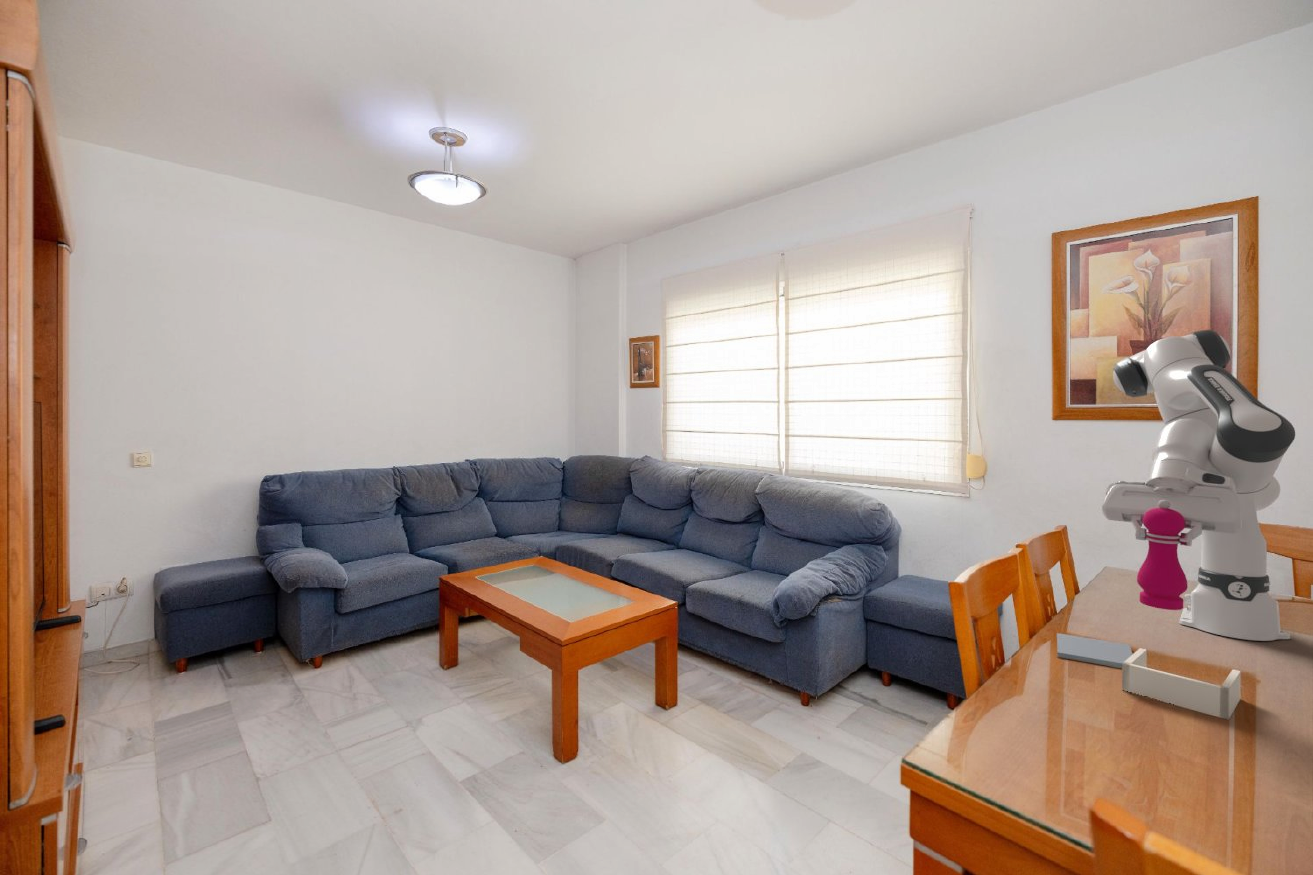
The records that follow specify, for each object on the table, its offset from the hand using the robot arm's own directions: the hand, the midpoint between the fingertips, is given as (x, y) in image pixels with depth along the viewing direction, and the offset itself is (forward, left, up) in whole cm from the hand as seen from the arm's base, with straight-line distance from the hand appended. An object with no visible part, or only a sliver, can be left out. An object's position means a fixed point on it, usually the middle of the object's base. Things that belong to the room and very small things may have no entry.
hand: (1162, 540), depth 109 cm
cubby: (+3, +2, -27) cm, 27 cm away
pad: (-12, -10, -27) cm, 31 cm away
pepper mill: (-1, 0, -12) cm, 13 cm away
